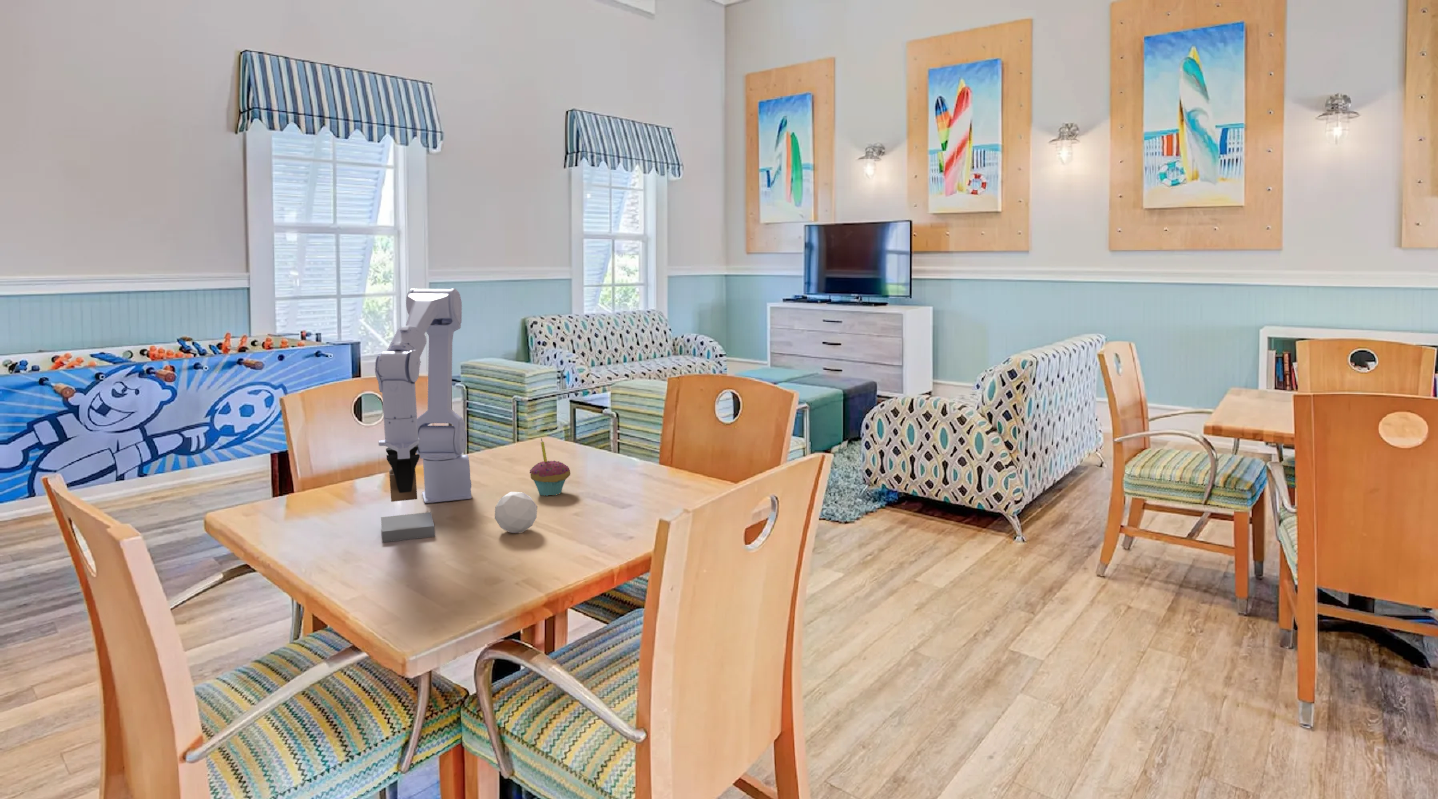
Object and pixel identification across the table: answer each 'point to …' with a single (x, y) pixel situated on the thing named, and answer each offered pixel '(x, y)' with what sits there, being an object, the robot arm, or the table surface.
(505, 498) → the geometric ball
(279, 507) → the table surface
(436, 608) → the table surface
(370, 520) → the table surface
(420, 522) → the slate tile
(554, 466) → the cupcake
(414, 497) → the walnut block
